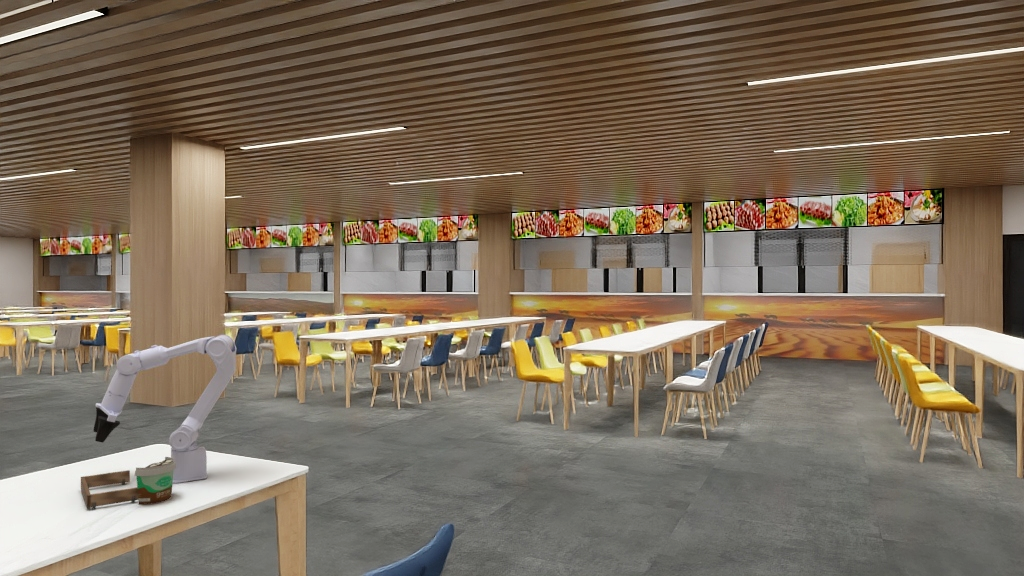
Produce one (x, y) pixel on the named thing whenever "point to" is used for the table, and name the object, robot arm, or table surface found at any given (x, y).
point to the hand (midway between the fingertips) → (98, 436)
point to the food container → (155, 481)
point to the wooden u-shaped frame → (110, 496)
